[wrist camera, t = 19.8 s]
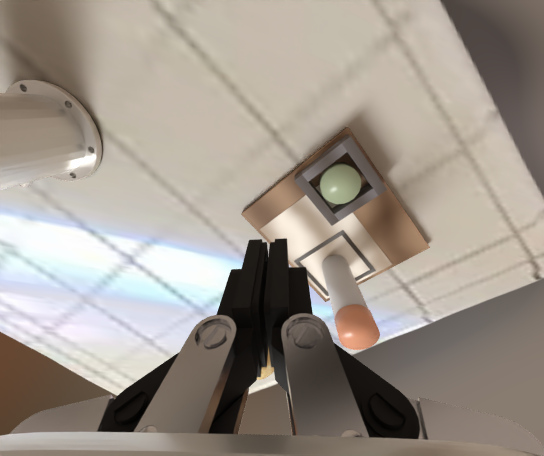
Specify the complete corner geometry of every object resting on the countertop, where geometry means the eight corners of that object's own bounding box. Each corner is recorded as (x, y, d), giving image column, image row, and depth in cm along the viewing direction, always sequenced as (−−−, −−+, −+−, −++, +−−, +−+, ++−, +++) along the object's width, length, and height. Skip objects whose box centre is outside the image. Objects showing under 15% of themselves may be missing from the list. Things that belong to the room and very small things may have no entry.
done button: (333, 205, 32) (335, 211, 30) (311, 178, 31) (312, 182, 29) (364, 183, 30) (368, 188, 29) (343, 154, 29) (346, 157, 27)
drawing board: (325, 298, 41) (327, 311, 39) (242, 212, 35) (237, 220, 33) (427, 244, 35) (437, 256, 32) (347, 127, 29) (352, 129, 26)
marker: (333, 280, 38) (356, 355, 26) (315, 266, 37) (331, 336, 25) (353, 264, 37) (387, 335, 25) (335, 249, 36) (361, 315, 24)
